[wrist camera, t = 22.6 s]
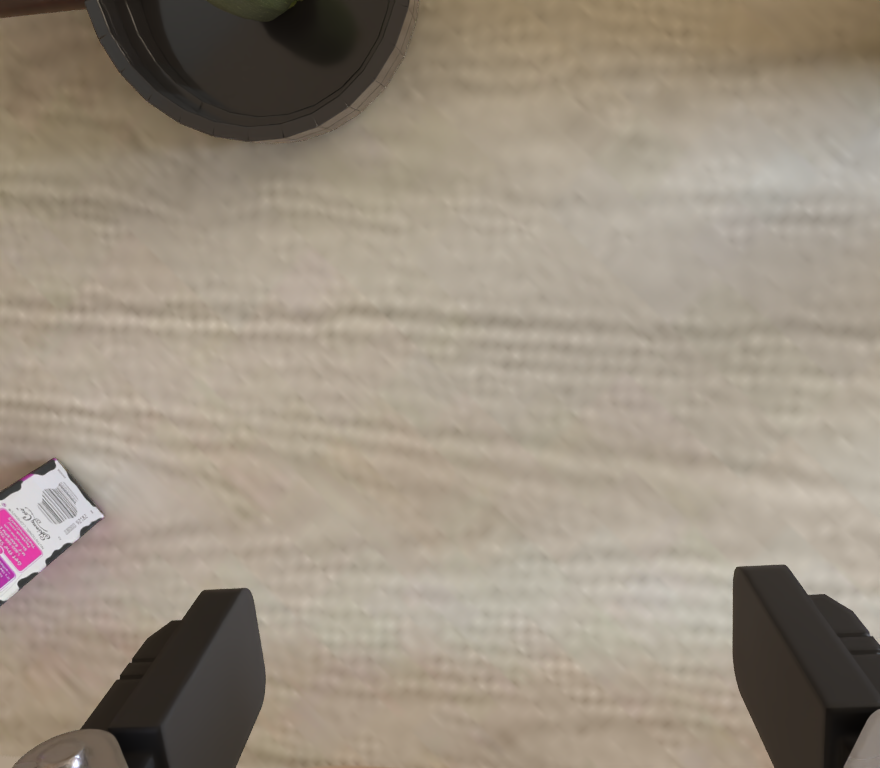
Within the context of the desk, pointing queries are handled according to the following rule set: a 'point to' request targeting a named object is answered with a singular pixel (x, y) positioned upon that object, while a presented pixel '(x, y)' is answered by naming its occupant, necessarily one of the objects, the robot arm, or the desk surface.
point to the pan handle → (37, 7)
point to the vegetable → (254, 8)
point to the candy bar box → (40, 523)
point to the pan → (257, 62)
